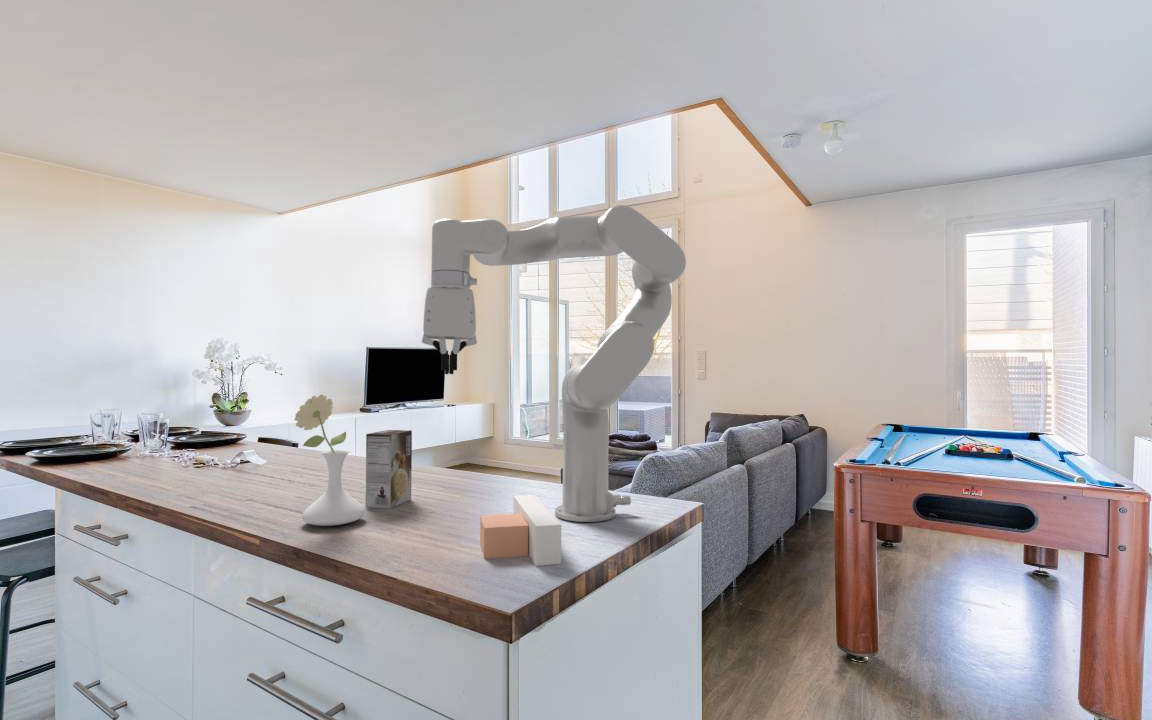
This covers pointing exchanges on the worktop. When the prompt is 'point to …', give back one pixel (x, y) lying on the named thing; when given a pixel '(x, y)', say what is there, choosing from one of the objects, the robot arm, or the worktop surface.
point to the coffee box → (388, 468)
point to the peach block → (503, 535)
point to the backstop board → (540, 530)
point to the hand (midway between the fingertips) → (449, 374)
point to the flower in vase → (334, 502)
